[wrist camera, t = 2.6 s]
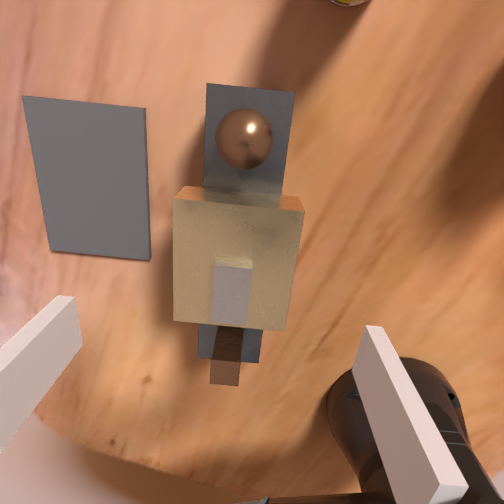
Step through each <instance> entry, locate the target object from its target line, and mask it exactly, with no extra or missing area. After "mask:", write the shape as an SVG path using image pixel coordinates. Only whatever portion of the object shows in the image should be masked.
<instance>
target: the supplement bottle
mask: <svg viewBox="0 0 504 504" xmlns="http://www.w3.org/2000/svg"><path fill="white" fill-rule="evenodd" d="M331 1H332V2H334V3H336V4H338V5H342V6H354V5H358V4H361V3H363V2H365V1H367V0H331Z"/></svg>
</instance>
